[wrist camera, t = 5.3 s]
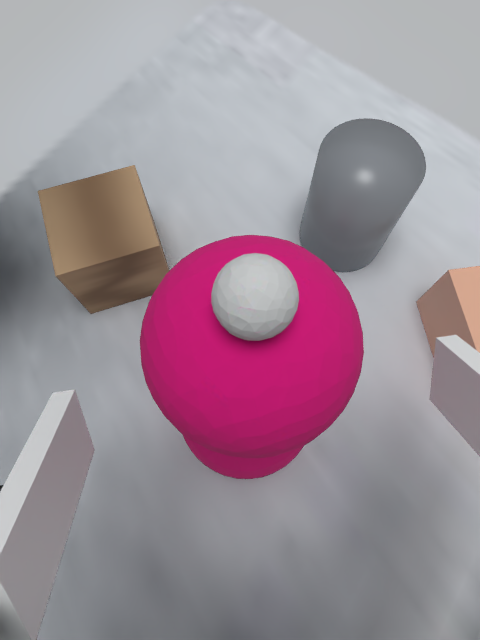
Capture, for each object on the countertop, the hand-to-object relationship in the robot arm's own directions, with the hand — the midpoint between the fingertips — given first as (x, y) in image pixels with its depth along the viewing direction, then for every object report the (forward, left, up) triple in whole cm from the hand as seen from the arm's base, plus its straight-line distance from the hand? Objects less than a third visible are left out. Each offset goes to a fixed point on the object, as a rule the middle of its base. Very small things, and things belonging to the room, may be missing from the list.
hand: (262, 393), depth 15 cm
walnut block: (-7, +13, -12) cm, 19 cm away
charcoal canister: (+9, +13, -12) cm, 19 cm away
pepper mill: (0, +1, -12) cm, 12 cm away
